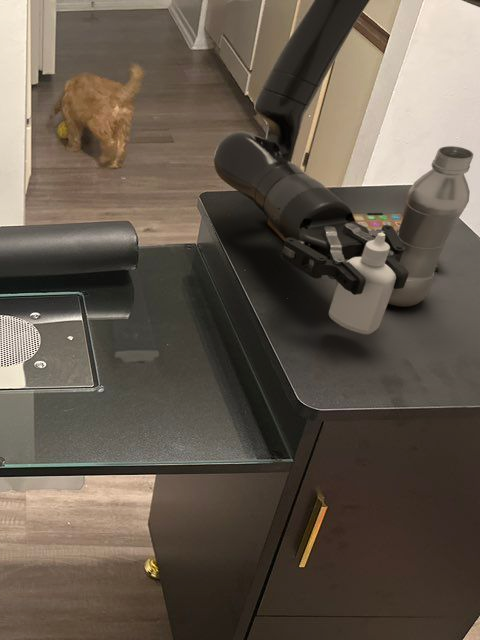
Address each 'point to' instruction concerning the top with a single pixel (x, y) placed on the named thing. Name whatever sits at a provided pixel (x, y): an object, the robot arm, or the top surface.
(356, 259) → the eye dropper bottle
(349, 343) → the top surface
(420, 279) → the plastic bottle
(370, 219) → the smartphone
